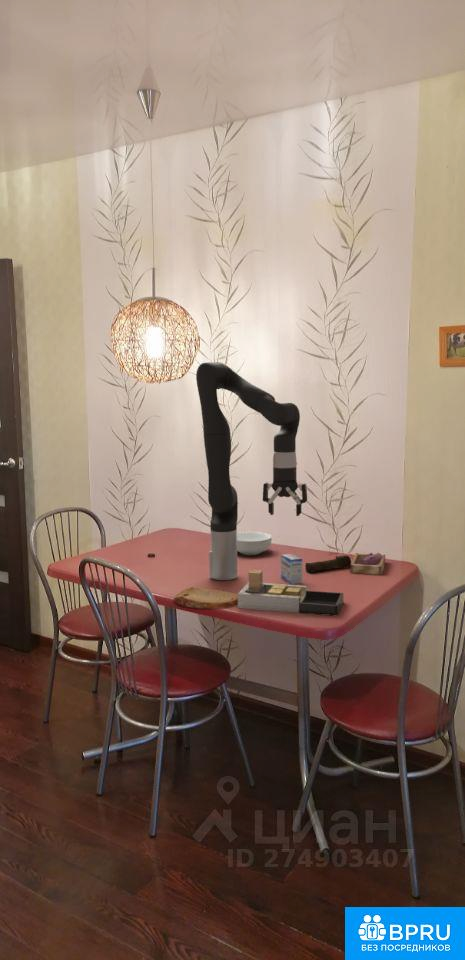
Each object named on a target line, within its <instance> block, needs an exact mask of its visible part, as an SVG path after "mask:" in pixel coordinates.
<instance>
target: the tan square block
mask: <svg viewBox="0 0 465 960" xmlns="http://www.w3.org/2000/svg"><path fill="white" fill-rule="evenodd" d="M286 595H287V596H300V598H301V588H291V587H288V589H287V590H286Z"/></svg>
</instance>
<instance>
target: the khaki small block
mask: <svg viewBox="0 0 465 960" xmlns="http://www.w3.org/2000/svg"><path fill="white" fill-rule="evenodd" d="M273 584H274V585H273V587H272V588H273V589H284V595H286V590H287V585H288V584H287V585H279V584H280V583H273Z"/></svg>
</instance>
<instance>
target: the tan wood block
mask: <svg viewBox="0 0 465 960" xmlns="http://www.w3.org/2000/svg"><path fill="white" fill-rule="evenodd" d="M268 594H273V595H284V589H273V588H271V589H270V590H269V591H268Z"/></svg>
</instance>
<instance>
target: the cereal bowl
mask: <svg viewBox="0 0 465 960" xmlns="http://www.w3.org/2000/svg"><path fill="white" fill-rule="evenodd" d="M272 539H273V538H272V535H271V534H269V533H265V532H260V531H239V532H238V531H237V553H238V552H239V553H240V554H241V555H245V556H256V555H260V554H261V553H264V552H266V551H267V550H268V549H269V548H270V546H271V544H272Z"/></svg>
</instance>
